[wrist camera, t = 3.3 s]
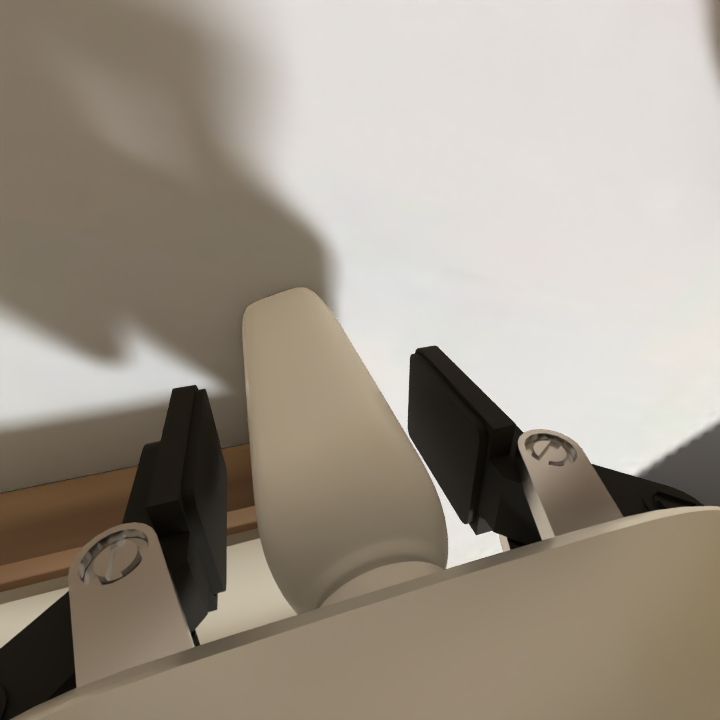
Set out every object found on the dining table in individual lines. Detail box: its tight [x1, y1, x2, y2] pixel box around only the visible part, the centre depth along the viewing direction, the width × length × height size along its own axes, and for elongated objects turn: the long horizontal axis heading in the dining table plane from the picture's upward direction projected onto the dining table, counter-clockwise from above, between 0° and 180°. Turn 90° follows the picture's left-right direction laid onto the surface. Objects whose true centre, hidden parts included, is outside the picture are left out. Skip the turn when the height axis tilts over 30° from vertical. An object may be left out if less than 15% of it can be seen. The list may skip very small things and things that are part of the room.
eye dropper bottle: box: [242, 287, 448, 614], centre depth 9 cm, size 4×6×12 cm
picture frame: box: [0, 444, 298, 648], centre depth 15 cm, size 12×12×3 cm
